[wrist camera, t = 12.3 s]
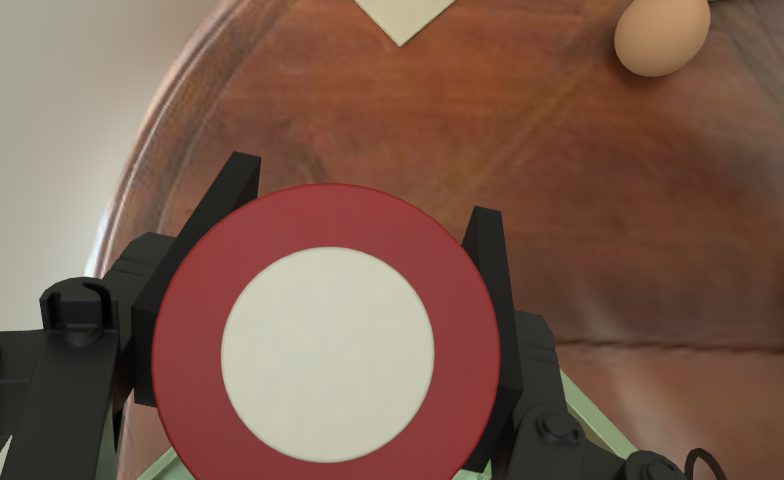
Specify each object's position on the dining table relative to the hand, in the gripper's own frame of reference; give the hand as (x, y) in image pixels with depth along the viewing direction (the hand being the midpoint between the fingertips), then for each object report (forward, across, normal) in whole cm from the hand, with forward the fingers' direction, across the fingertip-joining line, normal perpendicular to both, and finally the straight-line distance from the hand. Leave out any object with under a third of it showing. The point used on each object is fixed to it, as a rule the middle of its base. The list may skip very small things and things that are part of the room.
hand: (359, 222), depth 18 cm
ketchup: (+1, 0, -6) cm, 7 cm away
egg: (+42, +21, -4) cm, 47 cm away
